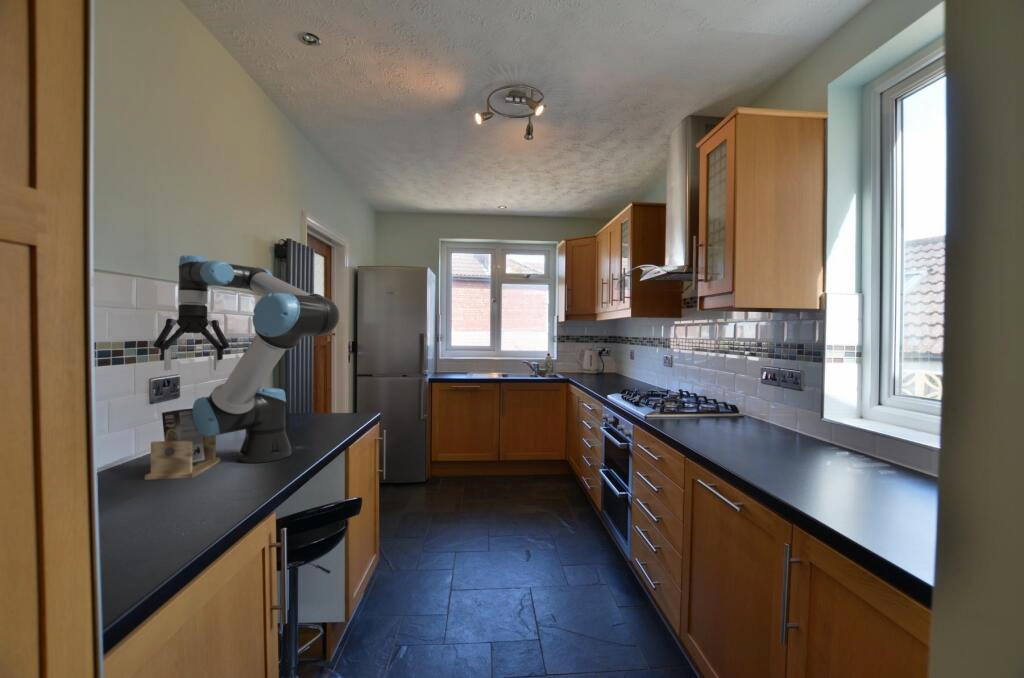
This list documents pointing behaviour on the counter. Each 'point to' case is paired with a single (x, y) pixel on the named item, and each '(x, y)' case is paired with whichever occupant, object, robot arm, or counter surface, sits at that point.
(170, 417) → the coffee box
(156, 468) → the oak holder
